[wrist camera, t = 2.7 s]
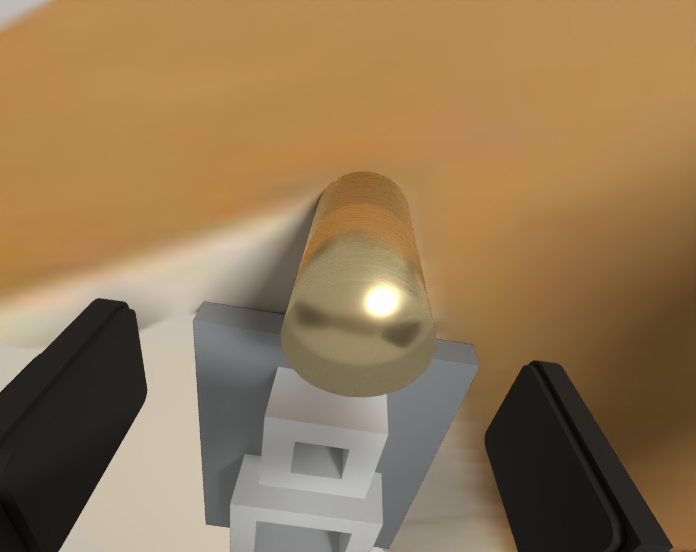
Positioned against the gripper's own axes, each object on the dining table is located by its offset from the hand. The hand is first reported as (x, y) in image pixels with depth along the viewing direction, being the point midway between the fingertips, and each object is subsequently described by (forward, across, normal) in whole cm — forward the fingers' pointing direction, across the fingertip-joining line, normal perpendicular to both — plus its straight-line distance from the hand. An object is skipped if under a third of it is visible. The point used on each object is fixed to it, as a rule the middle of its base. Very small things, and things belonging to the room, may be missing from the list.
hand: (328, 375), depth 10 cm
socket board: (+9, -1, +15) cm, 18 cm away
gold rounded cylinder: (+9, -1, -1) cm, 9 cm away
